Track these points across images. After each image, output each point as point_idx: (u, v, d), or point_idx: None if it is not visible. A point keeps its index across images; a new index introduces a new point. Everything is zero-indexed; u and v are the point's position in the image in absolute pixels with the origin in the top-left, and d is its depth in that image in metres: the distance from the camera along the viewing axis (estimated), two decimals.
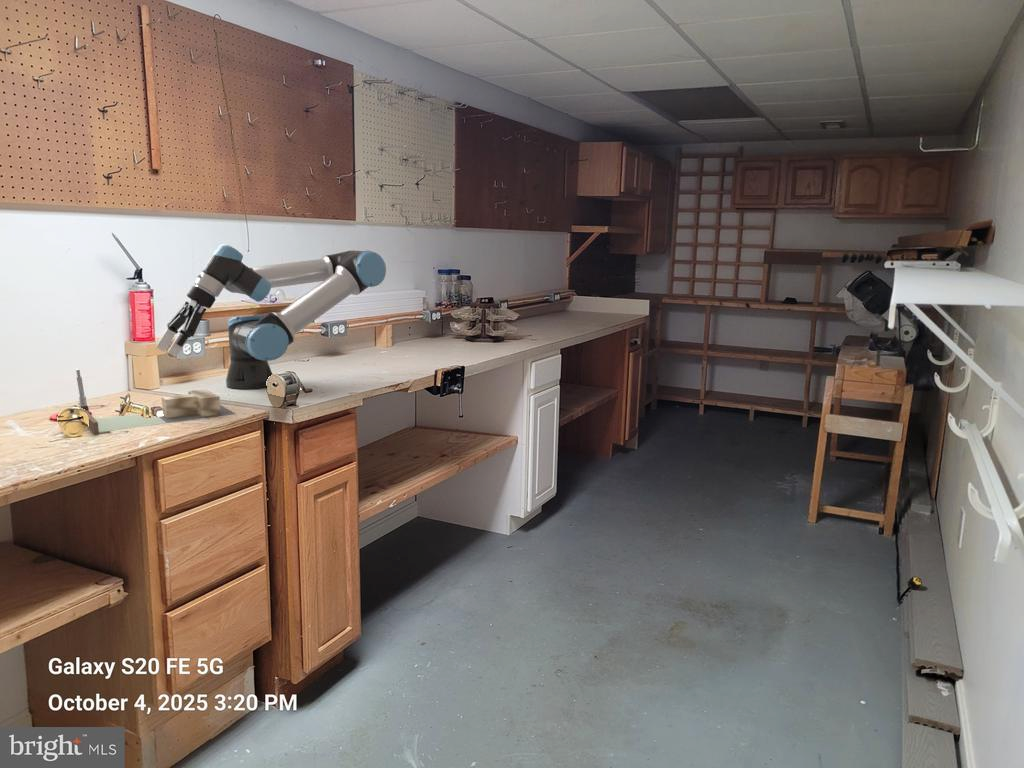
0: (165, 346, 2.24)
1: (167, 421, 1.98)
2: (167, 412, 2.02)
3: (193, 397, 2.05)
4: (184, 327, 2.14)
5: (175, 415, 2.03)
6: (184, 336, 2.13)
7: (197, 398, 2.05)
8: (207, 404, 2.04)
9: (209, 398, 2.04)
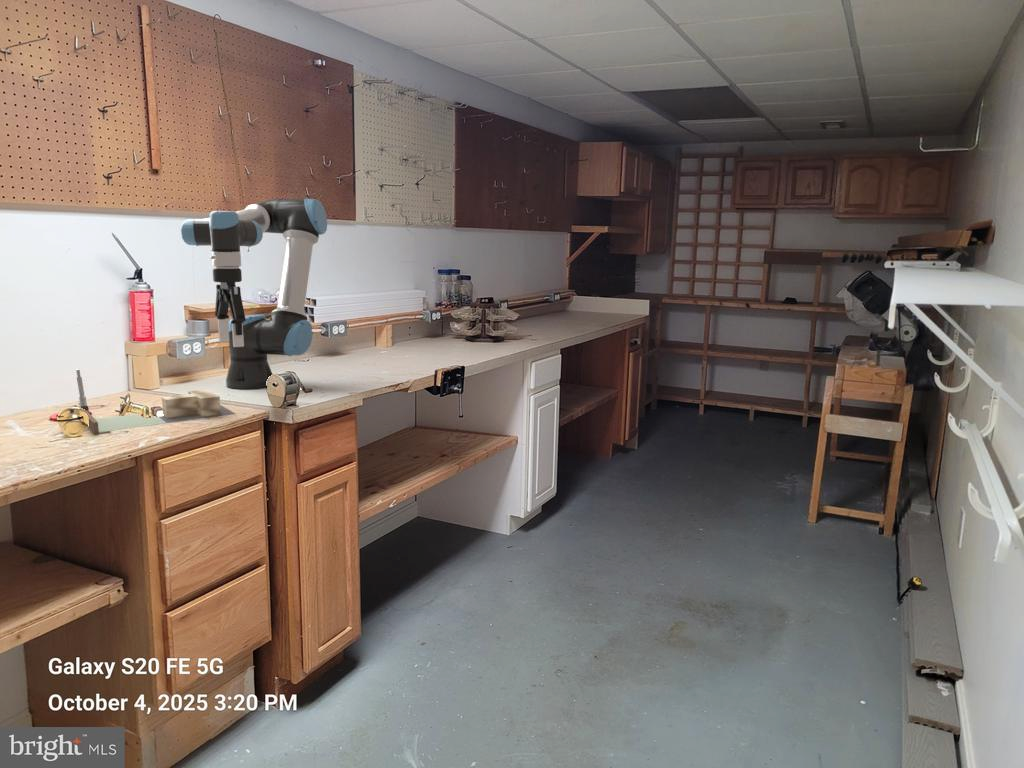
0: (227, 336, 2.16)
1: (167, 421, 1.98)
2: (167, 412, 2.02)
3: (193, 397, 2.05)
4: (232, 316, 2.04)
5: (175, 415, 2.03)
6: (238, 324, 2.04)
7: (197, 398, 2.05)
8: (207, 404, 2.04)
9: (209, 398, 2.04)
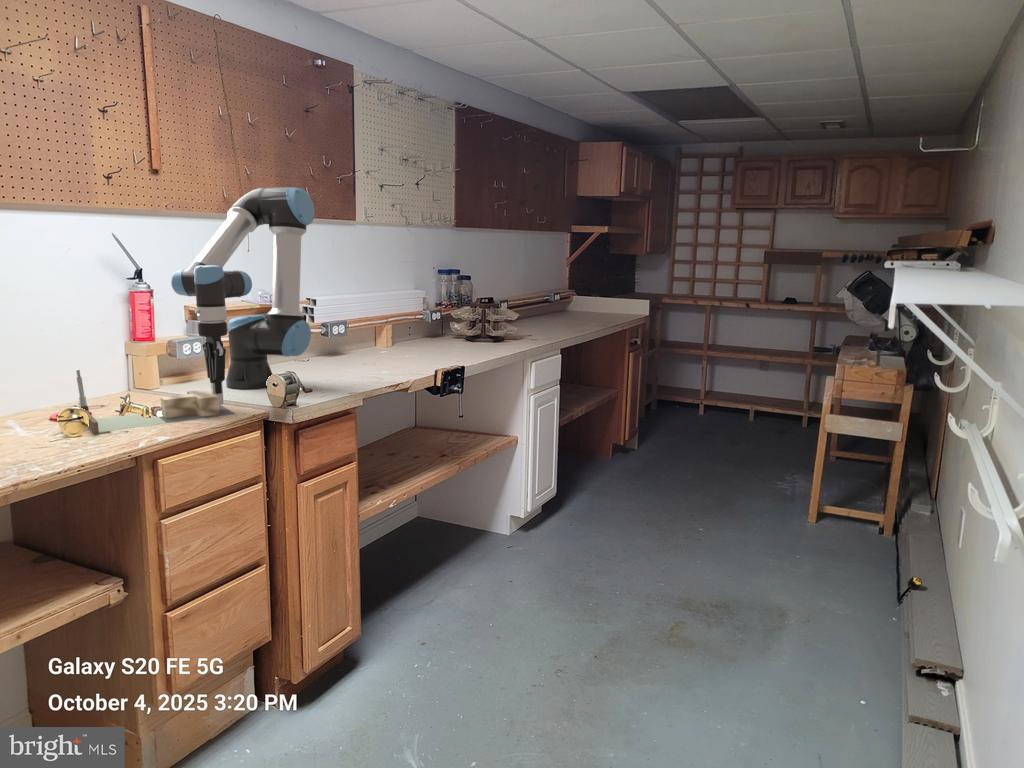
0: None
1: (167, 421, 1.98)
2: (166, 412, 2.01)
3: (192, 397, 2.05)
4: (213, 375, 2.08)
5: (174, 415, 2.03)
6: (217, 383, 2.09)
7: (196, 398, 2.05)
8: (205, 404, 2.04)
9: (208, 398, 2.04)
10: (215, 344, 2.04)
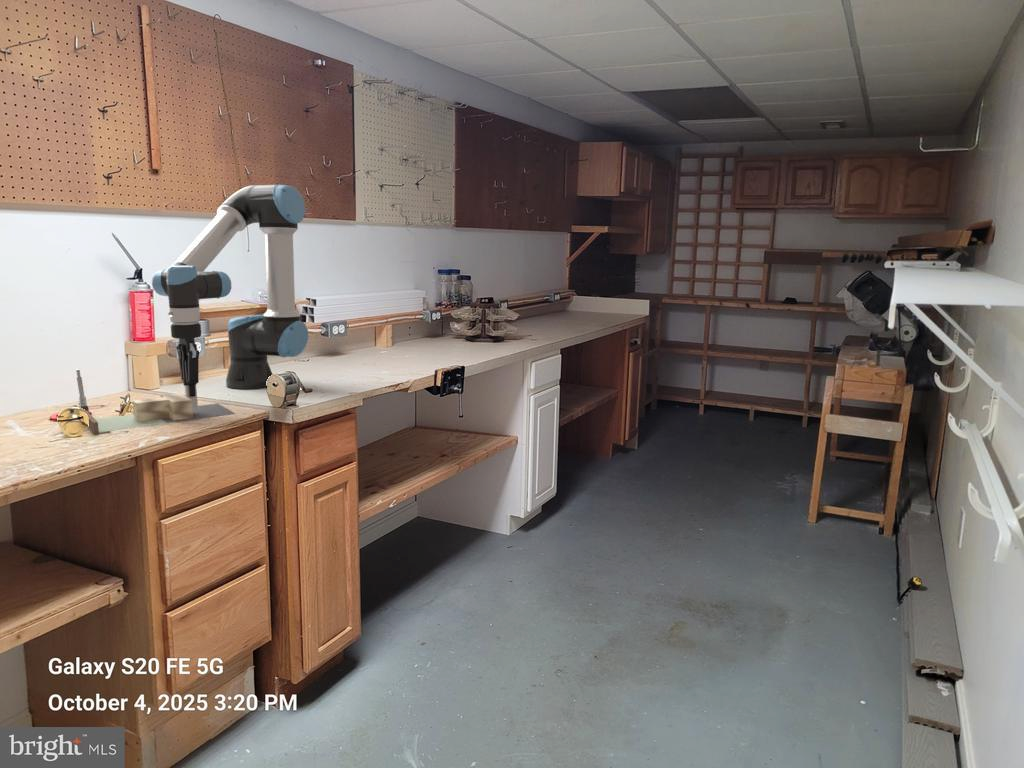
0: None
1: (167, 421, 1.98)
2: (138, 416, 1.97)
3: (165, 400, 2.00)
4: (186, 377, 2.04)
5: (146, 419, 1.98)
6: (191, 386, 2.04)
7: (169, 402, 2.00)
8: (178, 408, 1.99)
9: (181, 402, 1.99)
10: (188, 346, 2.00)
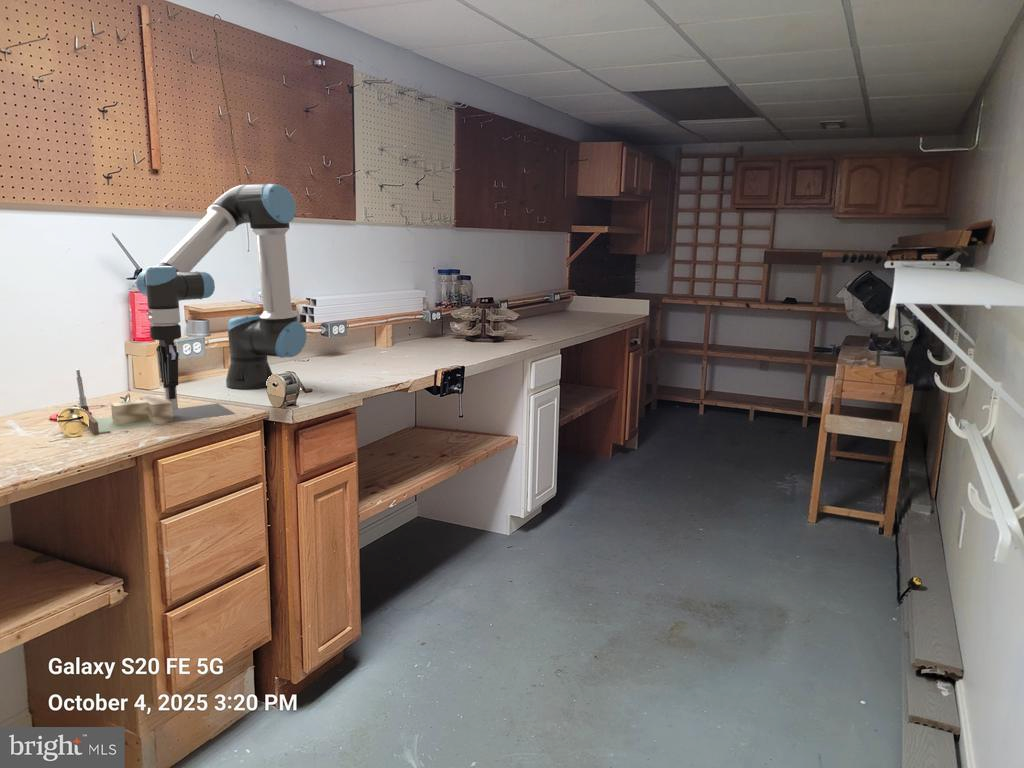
0: None
1: None
2: (116, 419, 1.94)
3: (144, 403, 1.97)
4: (166, 380, 2.00)
5: (125, 422, 1.95)
6: (171, 388, 2.01)
7: (148, 404, 1.97)
8: (158, 410, 1.96)
9: (161, 404, 1.96)
10: (167, 348, 1.97)
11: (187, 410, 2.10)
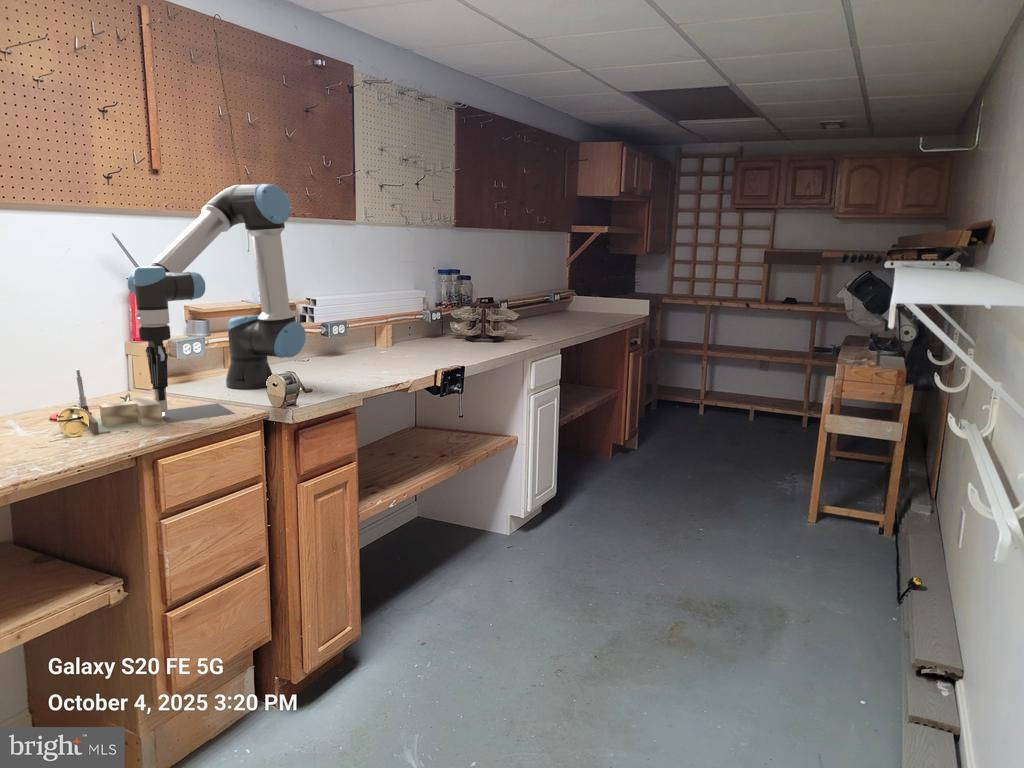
0: None
1: (167, 421, 1.98)
2: (104, 420, 1.92)
3: (133, 404, 1.96)
4: (155, 381, 1.99)
5: (113, 423, 1.93)
6: (160, 390, 2.00)
7: (137, 405, 1.95)
8: (147, 412, 1.94)
9: (149, 406, 1.94)
10: (156, 349, 1.95)
11: (187, 410, 2.10)
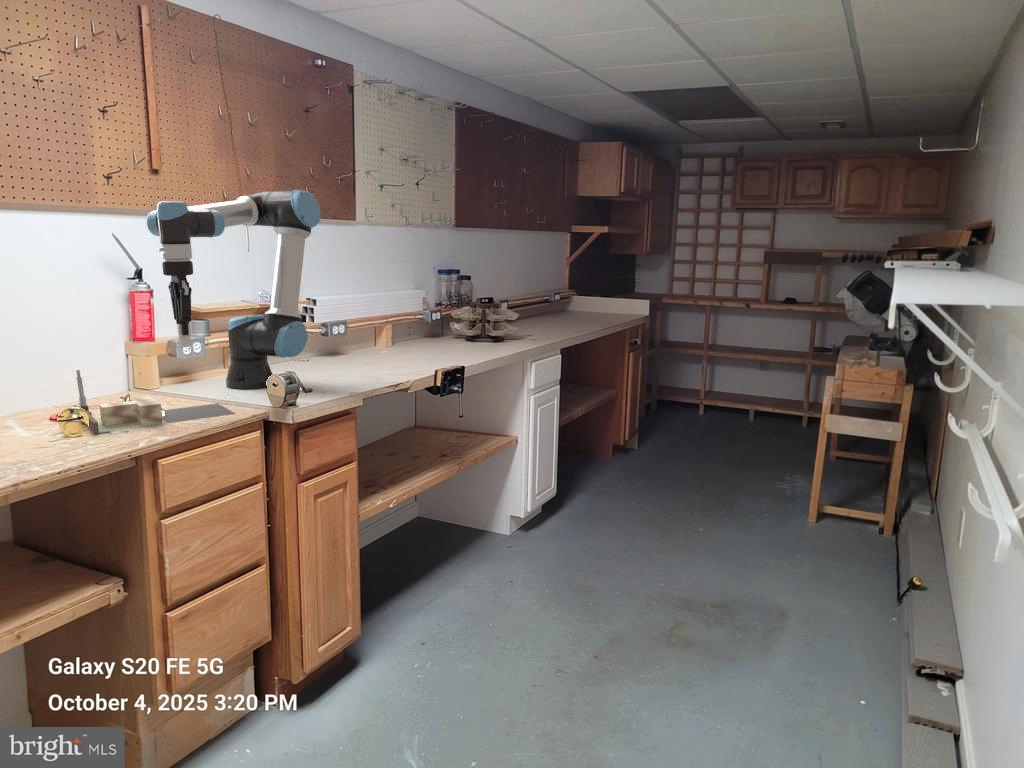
0: None
1: (167, 421, 1.98)
2: (104, 420, 1.92)
3: (133, 404, 1.96)
4: (179, 316, 2.02)
5: (113, 423, 1.93)
6: (184, 324, 2.03)
7: (137, 405, 1.95)
8: (147, 412, 1.94)
9: (149, 406, 1.94)
10: (180, 283, 1.98)
11: (187, 410, 2.10)
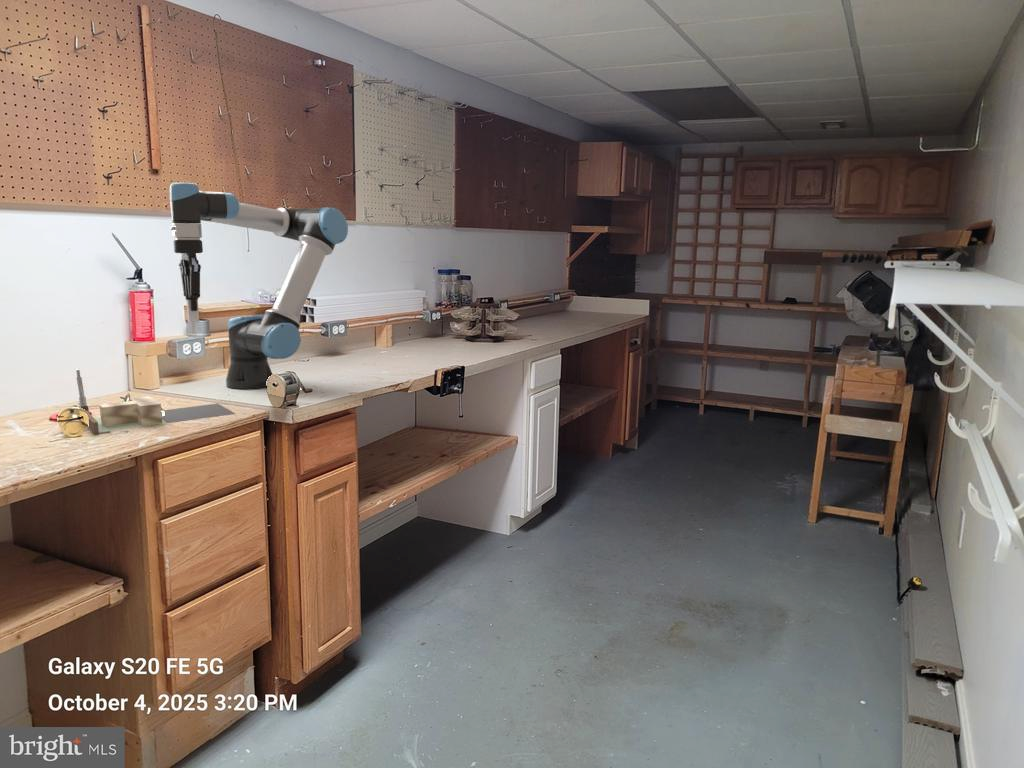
0: None
1: (167, 421, 1.98)
2: (104, 420, 1.92)
3: (133, 404, 1.96)
4: (188, 292, 2.12)
5: (113, 423, 1.93)
6: (193, 300, 2.13)
7: (137, 405, 1.95)
8: (147, 412, 1.94)
9: (149, 406, 1.94)
10: (190, 260, 2.08)
11: (187, 410, 2.10)
